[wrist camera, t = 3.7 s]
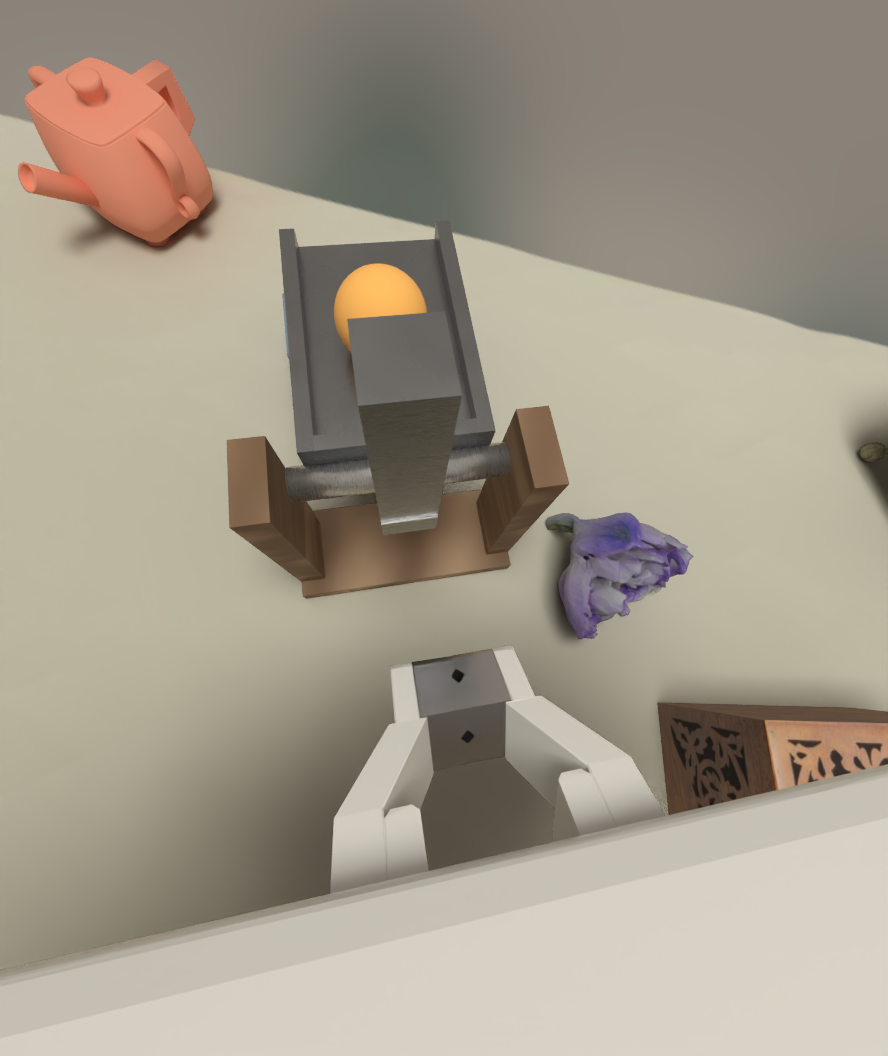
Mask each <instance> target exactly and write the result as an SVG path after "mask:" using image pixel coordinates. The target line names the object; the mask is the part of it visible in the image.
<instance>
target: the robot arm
mask: <svg viewBox="0 0 888 1056" xmlns="http://www.w3.org/2000/svg"><path fill="white" fill-rule="evenodd" d="M412 667H413V668H412ZM390 672H391V684H392V695H393V706H394V718H395V723H393V724H389V725H388V726H387V728H386V730H385V732H384V733H383V735H382V737H381V738H380V740H379V742H378V744H377V745H376V747H375V749H374V750H373V752H372V754H371V756H370V757H369V759H368V761H367V762H366V764H365V766H364V768H363V769H362V771H361V773H360V775H359V776H358V778H357V780H356V781H355V783H354V785H353V787H352V788H351V790H350V792H349V793H348V795H347V797H346V799H345V800H344V802H343V804H342V805H341V807H340V809H339V811H338V812H337V814H336V816H335V818H334V825H333V845H332V866H331V886H330V894H327V895H322V896H318V897H314V898H309V899H305V900H301V901H296V902H292V903H288V904H283V905H279V906H275V907H271V908H266V909H262V910H258V911H253V912H249V913H245V914H240V915H236V916H232V917H227V918H223V919H219V920H214V921H210V922H206V923H201V924H197V925H193V926H189V927H184V928H180V929H176V930H171V931H167V932H163V933H158V934H154V935H150V936H145V937H141V938H137V939H132V940H128V941H124V942H120V943H115V944H111V945H107V946H102V947H98V948H94V949H89V950H85V951H81V952H76V953H72V954H68V955H63V956H59V957H55V958H50V959H46V960H42V961H38V962H33V963H29V964H25V965H20V966H16V967H12V968H7V969H3V970H0V1056H888V764H887V765H883V766H878V767H874V768H870V769H865V770H861V771H857V772H853V773H848V774H844V775H840V776H835V777H831V778H827V779H823V780H818V781H814V782H810V783H805V784H801V785H797V786H793V787H788V788H784V789H780V790H775V791H771V792H767V793H762V794H758V795H754V796H750V797H745V798H741V799H737V800H732V801H728V802H724V803H719V804H715V805H711V806H706V807H702V808H698V809H693V810H689V811H685V812H680V813H676V814H672V815H668V816H665V814H664V812H663V811H662V809H661V807H660V806H659V804H658V802H657V800H656V799H655V797H654V795H653V794H652V792H651V790H650V789H649V787H648V785H647V784H646V782H645V780H644V778H643V777H642V775H641V773H640V772H639V770H638V768H637V767H636V765H635V763H634V761H633V760H632V758H631V757H630V756H629V755H628V754H626V753H625V752H623V751H622V750H620V749H619V748H617V747H616V746H614V745H613V744H611V743H610V742H609V741H607V740H606V739H604V738H603V737H601V736H600V735H598V734H597V733H595V732H594V731H592V730H591V729H590V728H588V727H587V726H585V725H584V724H582V723H581V722H579V721H578V720H576V719H575V718H573V717H572V716H571V715H569V714H568V713H566V712H565V711H563V710H562V709H560V708H559V707H557V706H556V705H555V704H553V703H552V702H550V701H549V700H547V699H546V698H544V697H543V696H536V697H535V694H534V692H533V690H532V688H531V685H530V683H529V681H528V679H527V677H526V674H525V672H524V670H523V668H522V665H521V663H520V661H519V659H518V657H517V654H516V652H515V650H514V648H513V647H512V646H511V645H508V646H503V647H497V648H492V649H487V650H481V651H476V652H470V653H465V654H459V655H454V656H450V657H443V658H436V659H430V660H423V661H416V662H412V663H406V664H399V665H392V666H391V670H390ZM499 757H505V759H506V760H507V761H508V762H509V763H510V764H511V765H512V766H513V767H514V768H515V769H516V770H517V771H518V772H519V773H520V774H521V775H522V776H523V777H524V778H525V779H526V780H527V781H528V782H529V783H530V784H531V785H532V786H533V787H534V788H535V789H536V790H537V791H538V792H539V793H540V794H541V795H542V796H543V797H544V798H545V799H546V800H547V801H548V802H549V803H550V804H551V805H552V806H553V807H554V808H555V815H554V825H553V834H552V842H551V843H547V844H542V845H538V846H534V847H529V848H525V849H521V850H516V851H512V852H508V853H503V854H499V855H495V856H490V857H486V858H482V859H477V860H473V861H469V862H464V863H460V864H456V865H451V866H447V867H443V868H439V869H434V870H430V871H429V867H428V860H427V853H426V847H425V840H424V833H423V826H422V819H421V813H420V809H421V807H422V804H423V801H424V799H425V796H426V793H427V791H428V788H429V785H430V782H431V780H432V777H433V774H434V771H436V770H440V769H444V768H449V767H453V766H457V765H461V764H466V763H470V762H476V761H482V760H487V759H493V758H499Z"/></svg>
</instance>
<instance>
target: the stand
mask: <svg viewBox="0 0 888 1056" xmlns="http://www.w3.org/2000/svg"><path fill="white" fill-rule="evenodd" d="M502 442H506V443H507V445H508V448H509V451H510V457H511V470H510V474H509V475H508V476H503V477H495V478H487V479H486V481H485V483H484V486H483V488H482V489H481V490H473V491H466V492H458V493H450V494H442V497H441V502H440V506H439V511H438V520H437V525H436V528H433V529H426V530H418V531H411V532H404V533H396V534H389V535H383V531H382V526H381V520H380V515H379V510H378V505H377V503H372V504H364V505H356V506H348V507H340V508H332V509H325V510H317V511H312V509H311V508H310V506H309V505H308V503H307V501H302V502H294V503H292V502H291V500H290V498H289V495H288V491H287V486H286V478H285V471H286V468H285V467H284V465H283V464H282V462H281V461H280V459H279V457H278V456H277V454H276V453H275V451H274V450H273V448H272V446H271V445H270V443H269V442H268V440H267V439H266V437H265V436H261V437H251V438H242V439H232V440H227V464H228V495H229V526H230V528H231V529H232V530H233V531H235V532H236V533H237V534H239V535H240V536H241V537H243V538H244V539H245V540H247V541H248V542H249V543H251V544H252V545H253V546H255V547H256V548H257V549H259V550H260V551H261V552H263V553H264V554H265V555H267V556H268V557H269V558H271V559H272V560H273V561H275V562H276V563H277V564H279V565H280V566H281V567H283V568H284V569H285V570H287V571H288V572H289V573H291V574H292V575H293V576H295V577H296V578H297V579H299V580H300V581H301V582H302V592H303V597H305V598H313V597H320V596H327V595H333V594H340V593H347V592H353V591H360V590H367V589H373V588H380V587H386V586H393V585H400V584H406V583H413V582H420V581H426V580H433V579H440V578H446V577H453V576H459V575H466V574H473V573H479V572H486V571H493V570H499V569H506V568H508V567H509V566H510V560H509V555H508V551H509V550H510V549H511V547H512V546H513V545H514V544H515V543H516V542H517V541H518V540H519V539H520V538H521V536H522V535H523V534H524V533H525V532H526V531H527V530H528V529H529V528H530V526H531V525H532V524H533V523H534V522H535V521H536V520H537V519H538V518H539V517H540V515H541V514H542V513H543V512H544V511H545V510H546V509H547V508H548V507H549V506H550V504H551V503H552V502H553V501H554V500H555V499H556V498H557V497H558V496H559V494H560V493H561V492H562V491H563V490H564V489H565V488H566V487H567V486H568V485H569V481H568V477H567V474H566V470H565V466H564V462H563V458H562V454H561V451H560V447H559V443H558V439H557V435H556V431H555V428H554V424H553V420H552V416H551V412H550V408H549V406H543V407H533V408H524V409H516V411H515V413H514V416H513V418H512V420H511V423H510V425H509V427H508V430H507V432H506V434H505V437H504V439H503V441H502Z"/></svg>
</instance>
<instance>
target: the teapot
mask: <svg viewBox="0 0 888 1056" xmlns="http://www.w3.org/2000/svg"><path fill="white" fill-rule="evenodd" d="M28 74H29V77H30V79H31V81H32V83H33V85H34V86H35V87H36V89H34V90H33V91H32V92H30V93H29V94H28V95H27V96H26V98H25V102H26V105H27V108H28V110H29V113H30V115H31V117H32V120H33V122H34V124H35V126H36V129H37V131H38V133H39V135H40V137H41V139H42V141H43V144H44V145H45V147H46V149H47V151H48V153H49V155H50V157H51V158H52V160H53V162H54V163H55V165H56V167H57V168H58V170H59V171H60V173H59V172H55V171H52V170H49V169H45V168H42V167H38V166H35V165H31V164H28V163H25V162H22V163H21V164H20V165H19V168H18V175H19V180H20V182H21V185H22V186H23V188H24V189H25V190H26V191H27V192H29V193H33V194H38V195H43V196H48V197H52V198H57V199H62V200H66V201H71V202H76V203H81V204H85V205H89V206H90V207H91V208H93V209H94V210H95V211H96V212H98V213H99V214H100V215H101V216H103V217H104V218H105V219H107V220H108V221H109V222H111V223H112V224H114V225H116V226H117V227H119V228H121V229H123V230H125V231H127V232H129V233H131V234H133V235H135V236H137V237H139V238H142V239H144V240H146V241H147V243H148V244H149V245H151V246H153V247H160V246H163V245H165V244H166V243H167V242H168V241H169V236H170V235H172V234H173V233H175V232H176V231H177V230H178V229H180V228H181V227H182V226H184V225H185V224H186V223H187V222H189V221H190V220H191V219H196V218H197V217H198V216H199V215H200V214H202V213H204V212H205V211H206V209H207V205H208V204H209V203H210V202H211V200H212V198H213V189H212V182H211V178H210V175H209V172H208V170H207V168H206V166H205V164H204V162H203V160H202V158H201V156H200V154H199V152H198V150H197V148H196V147H195V145H194V143H193V142H192V140H191V138H190V137H189V136H190V132H191V129H192V126H193V123H194V120H195V117H194V115H193V113H192V111H191V109H190V107H189V105H188V103H187V101H186V99H185V97H184V95H183V93H182V91H181V89H180V87H179V85H178V83H177V81H176V79H175V77H174V75H173V73H172V71H171V69H170V67H168V66H166V65H164V64H163V63H161V62H159V61H157V60H155V59H154V60H153V61H151V62H150V63H148V64H147V65H145V66H144V67H143V68H141V69H139V70H138V71H136V72H135V73H133V74H132V75H131V74H129V73H127V72H125V71H123V70H121V69H119V68H117V67H115V66H113V65H111V64H109V63H106V62H104V61H101V60H98V59H95V58H86V59H84V60H82V61H80V62H78V63H76V64H74V65H72V66H70V67H69V68H67V69H65V70H64V71H62V72H60V73H59V74H57V75H56V74H55V73H53V72H52V71H50V70H48V69H47V68H44V67H42V66H33V67H31V68H29V71H28Z"/></svg>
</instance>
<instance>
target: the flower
mask: <svg viewBox="0 0 888 1056" xmlns="http://www.w3.org/2000/svg"><path fill="white" fill-rule="evenodd" d="M546 526H547V528H548V530H549V529H556V528H557V529H560V530H562V531H564V532H571V533H573V540H572V544H571V546H570V552H571V560H570V565H569V566H568V567H567V568H566V569H565V570H564V571H563V573H562V575H561V577H560V579H559V582H558V584H559V592H560V596H561V599H562V601H563V604H564V606H565V612H566V616H567V619H568V621H569V623H570V625H571V627H572V629H573V630H574V631H575V633H576V634H577V637H578V639H582V638H591V639H592V638H595V637H596V635H598V634H597V633H595V632H596V631H597V629H596V626H597V624H598V623H599V622H601V621H604V620H608V619H610V618H612V617H613V616H614V615H615V614H616V613H620V615H621V616H625V615H628V614H629V612H630V609H629V608H628V606H627V603H628V602H633V601H638V600H641V599H643V598H644V597H645V596H646V595H647V594H648V593H649V592H651V591H652V590H654V591H655V592H658V591H660V590H661V588H662V587H665V588H666V584H665V582H667V581H668V580H669V578H670V577H672V576H675V575H677V574H684V573H685V572H686V570H687V567H688V564H689V561H690V559H691V558H692V557H693V555H691V554H690V553H689V552H688V551H687V549H686V548H687V547H688V546H686V545H684V544H682V543H680V542H679V541H678V540H677V539H675V538H674V537H672V536H671V535H666V534H663V533H662V532H660V531H659V530H657V529H655V528H653V527H651V526H649V525H646V524H642V523H639V521H638V520H637V519H636V518H635V517H634V516H633V515H632V514H630V513H626V512H625V513H617V514H614V515H611V516H608V517H603V518H598V519H591V520H579V518H578V517H576V516H575V515H573V514H569V513H562V514H558V515H555V516H552V517H549V518H548V519H547V523H546Z"/></svg>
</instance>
